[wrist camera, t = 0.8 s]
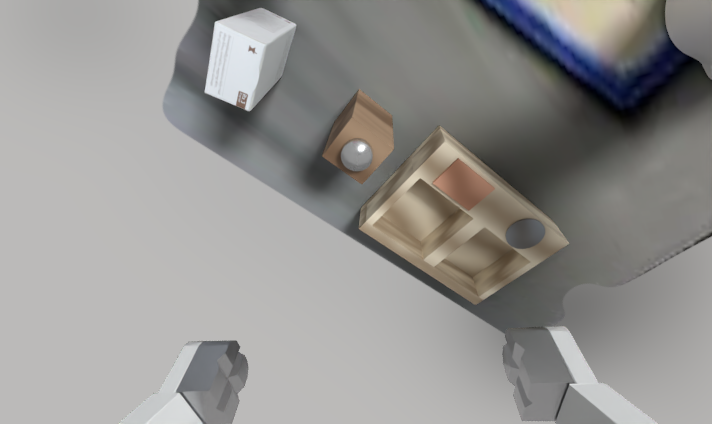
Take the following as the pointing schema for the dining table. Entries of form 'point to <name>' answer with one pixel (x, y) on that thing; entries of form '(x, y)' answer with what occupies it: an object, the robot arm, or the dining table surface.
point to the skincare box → (248, 56)
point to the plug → (360, 138)
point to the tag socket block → (459, 220)
